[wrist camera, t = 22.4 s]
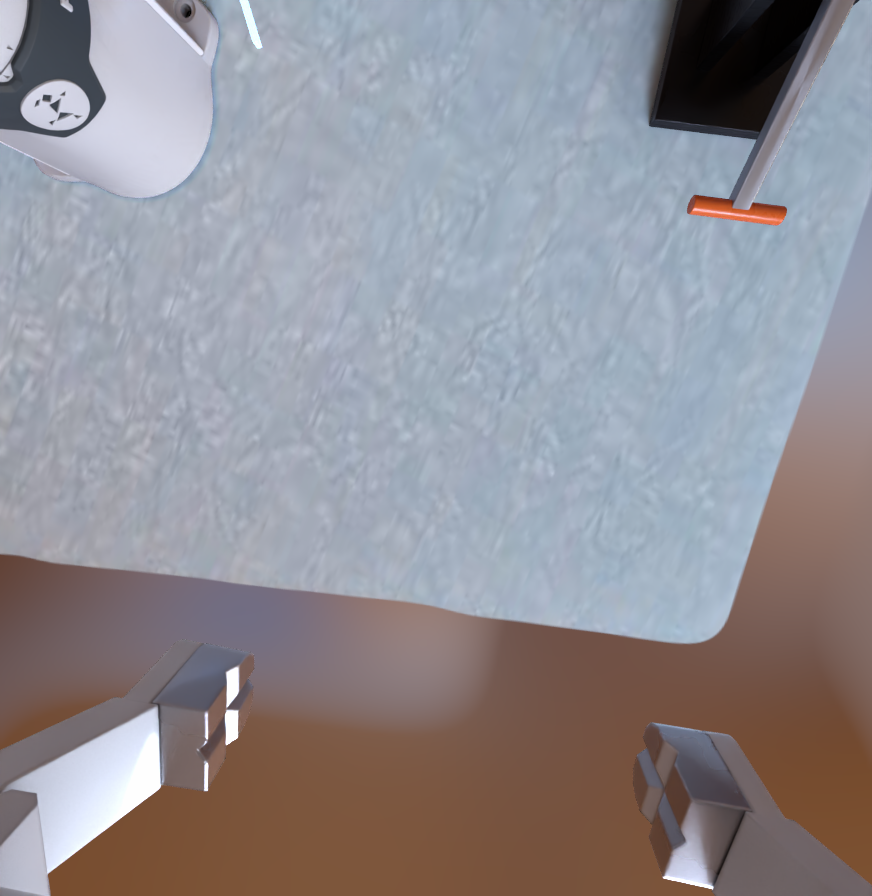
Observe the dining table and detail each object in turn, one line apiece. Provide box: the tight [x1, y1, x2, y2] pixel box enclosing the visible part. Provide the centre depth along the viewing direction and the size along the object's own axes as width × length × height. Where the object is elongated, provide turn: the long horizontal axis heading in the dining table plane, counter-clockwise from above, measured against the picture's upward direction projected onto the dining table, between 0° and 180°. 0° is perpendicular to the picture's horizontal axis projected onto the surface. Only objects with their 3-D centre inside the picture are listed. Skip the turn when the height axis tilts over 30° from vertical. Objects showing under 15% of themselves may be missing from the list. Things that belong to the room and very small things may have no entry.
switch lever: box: [687, 0, 855, 225], centre depth 24 cm, size 16×6×2 cm
